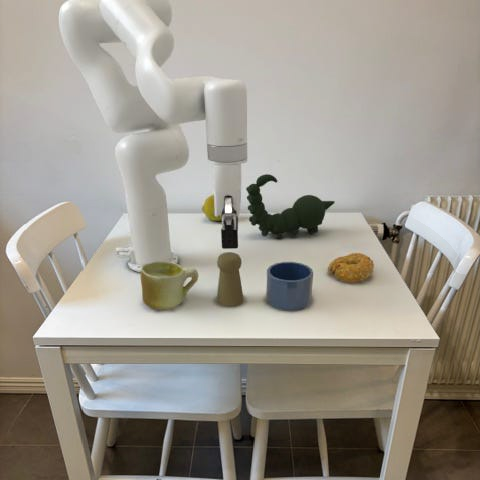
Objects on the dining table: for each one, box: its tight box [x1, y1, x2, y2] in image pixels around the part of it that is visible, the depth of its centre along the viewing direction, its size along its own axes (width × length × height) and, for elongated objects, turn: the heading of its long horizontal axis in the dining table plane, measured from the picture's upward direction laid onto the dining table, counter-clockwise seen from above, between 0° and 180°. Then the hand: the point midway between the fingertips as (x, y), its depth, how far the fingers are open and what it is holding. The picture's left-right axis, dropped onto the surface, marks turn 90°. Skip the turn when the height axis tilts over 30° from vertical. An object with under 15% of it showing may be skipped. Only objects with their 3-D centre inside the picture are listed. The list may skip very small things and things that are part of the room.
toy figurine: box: [245, 173, 335, 240], centre depth 136 cm, size 9×19×25 cm
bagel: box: [327, 252, 375, 284], centre depth 116 cm, size 10×11×5 cm
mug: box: [140, 261, 199, 311], centre depth 105 cm, size 12×10×10 cm
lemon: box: [201, 194, 222, 222], centre depth 149 cm, size 11×8×8 cm
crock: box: [265, 261, 314, 312], centre depth 105 cm, size 10×10×7 cm
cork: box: [216, 251, 244, 308], centre depth 104 cm, size 6×6×11 cm
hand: (230, 239), depth 99 cm, fingers open, 9 cm apart
